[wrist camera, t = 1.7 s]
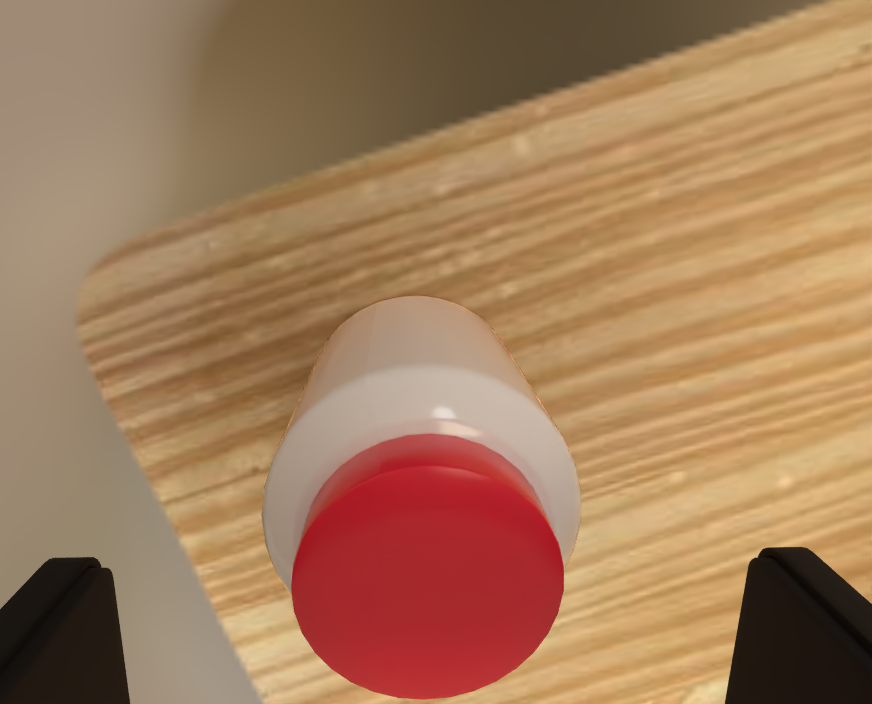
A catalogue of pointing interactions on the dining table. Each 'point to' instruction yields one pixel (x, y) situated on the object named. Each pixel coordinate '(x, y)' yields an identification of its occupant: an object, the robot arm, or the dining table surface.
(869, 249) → the dining table surface
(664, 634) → the dining table surface
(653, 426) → the dining table surface
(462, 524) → the pill bottle
